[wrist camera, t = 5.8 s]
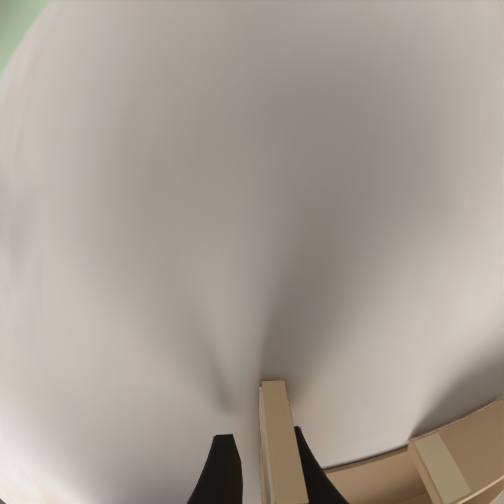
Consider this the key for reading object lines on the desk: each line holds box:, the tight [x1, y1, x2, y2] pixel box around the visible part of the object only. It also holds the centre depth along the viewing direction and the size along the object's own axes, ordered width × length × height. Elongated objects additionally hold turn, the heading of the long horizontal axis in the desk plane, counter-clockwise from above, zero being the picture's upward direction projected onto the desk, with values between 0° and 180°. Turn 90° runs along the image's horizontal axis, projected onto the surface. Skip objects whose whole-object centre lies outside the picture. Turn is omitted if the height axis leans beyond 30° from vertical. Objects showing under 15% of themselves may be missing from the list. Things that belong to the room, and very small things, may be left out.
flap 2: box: [407, 399, 504, 504], centre depth 10 cm, size 7×1×5 cm, turn 97°
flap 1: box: [259, 380, 309, 504], centre depth 9 cm, size 7×1×5 cm, turn 0°
